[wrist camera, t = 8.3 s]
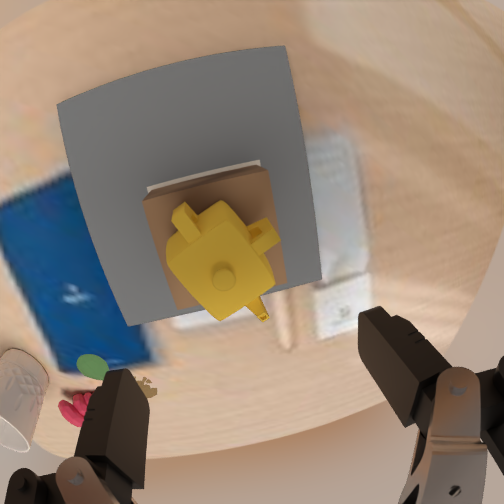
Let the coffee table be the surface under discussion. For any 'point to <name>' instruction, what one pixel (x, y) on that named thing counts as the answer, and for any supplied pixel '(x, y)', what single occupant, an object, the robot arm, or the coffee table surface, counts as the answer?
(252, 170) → the base block
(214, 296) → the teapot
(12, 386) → the white cup
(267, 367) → the coffee table surface
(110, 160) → the gray board
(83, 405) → the toy pieces
